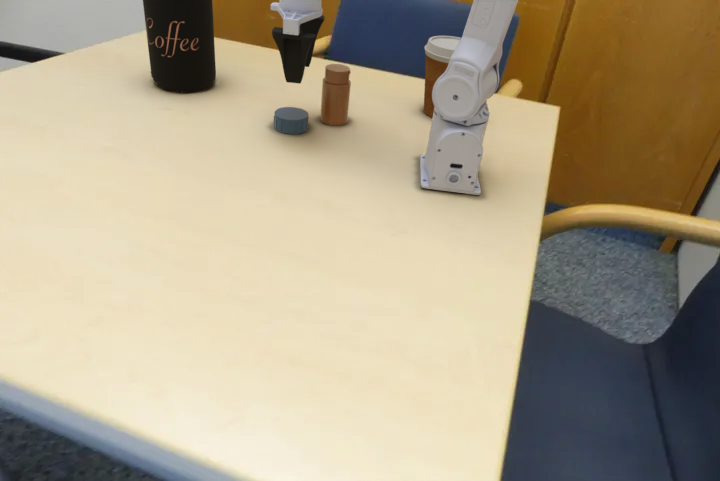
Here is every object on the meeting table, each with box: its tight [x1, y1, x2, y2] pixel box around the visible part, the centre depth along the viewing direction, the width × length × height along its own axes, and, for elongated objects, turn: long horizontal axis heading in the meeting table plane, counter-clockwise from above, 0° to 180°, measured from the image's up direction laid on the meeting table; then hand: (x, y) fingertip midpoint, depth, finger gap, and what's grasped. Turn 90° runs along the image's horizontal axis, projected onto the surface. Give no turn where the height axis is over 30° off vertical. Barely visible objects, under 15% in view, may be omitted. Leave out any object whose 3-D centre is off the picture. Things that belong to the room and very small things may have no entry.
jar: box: [319, 63, 352, 126], centre depth 87 cm, size 4×4×8 cm
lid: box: [273, 106, 310, 135], centre depth 85 cm, size 5×5×2 cm
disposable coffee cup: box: [423, 35, 462, 118], centre depth 94 cm, size 10×10×12 cm
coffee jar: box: [142, 0, 217, 94], centre depth 91 cm, size 11×11×18 cm
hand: (298, 73), depth 81 cm, fingers open, 7 cm apart
